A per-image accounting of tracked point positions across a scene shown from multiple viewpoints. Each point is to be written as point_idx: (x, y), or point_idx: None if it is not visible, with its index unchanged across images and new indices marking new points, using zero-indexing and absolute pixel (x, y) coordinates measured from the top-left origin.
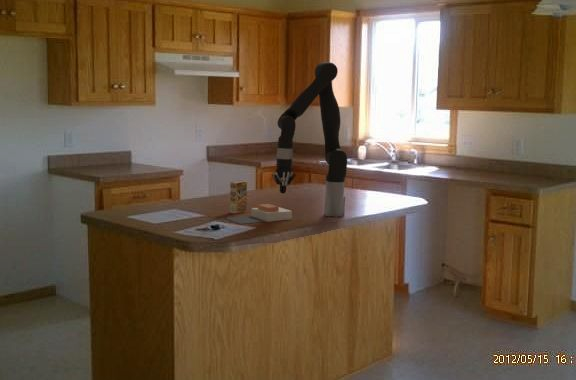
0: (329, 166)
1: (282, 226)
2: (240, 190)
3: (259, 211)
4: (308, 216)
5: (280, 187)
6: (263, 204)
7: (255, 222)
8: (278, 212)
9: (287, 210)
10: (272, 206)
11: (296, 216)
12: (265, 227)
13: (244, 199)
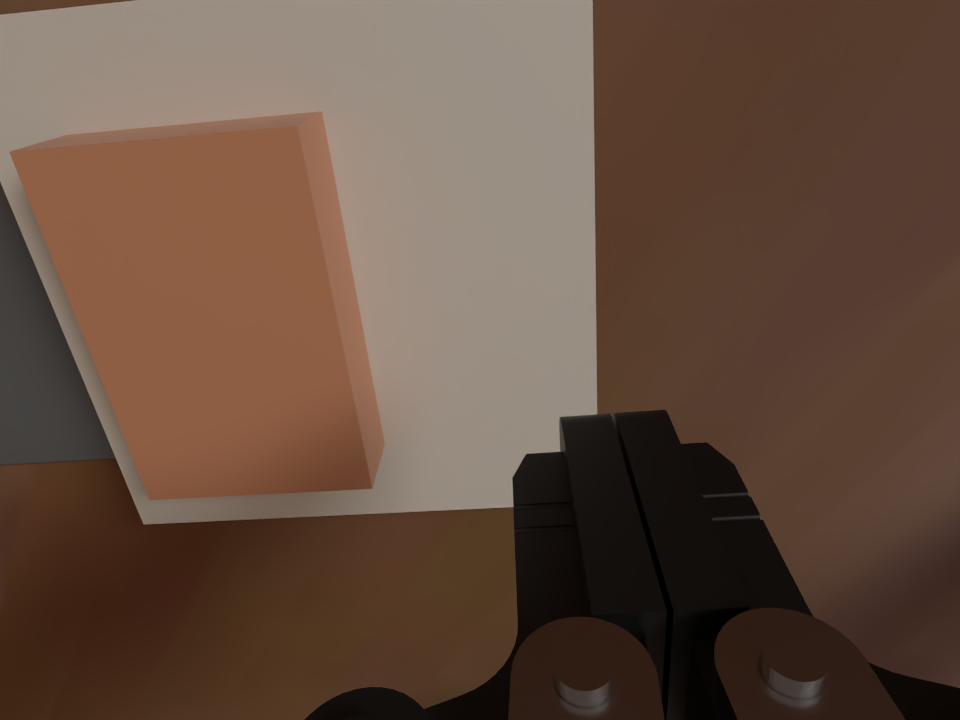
0: None
1: (282, 664)
2: None
3: (67, 319)
4: (954, 347)
5: (525, 606)
6: (155, 164)
7: (22, 461)
8: (339, 514)
9: (554, 451)
10: (273, 422)
11: (788, 286)
12: (93, 646)
13: None
